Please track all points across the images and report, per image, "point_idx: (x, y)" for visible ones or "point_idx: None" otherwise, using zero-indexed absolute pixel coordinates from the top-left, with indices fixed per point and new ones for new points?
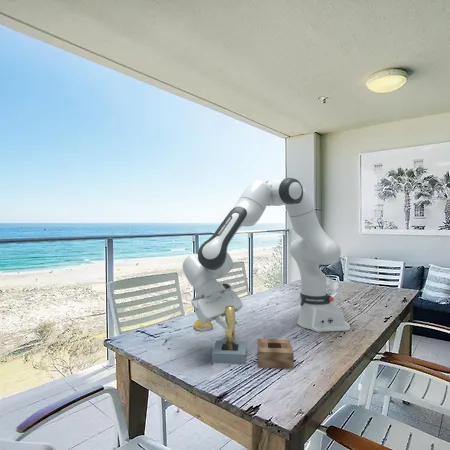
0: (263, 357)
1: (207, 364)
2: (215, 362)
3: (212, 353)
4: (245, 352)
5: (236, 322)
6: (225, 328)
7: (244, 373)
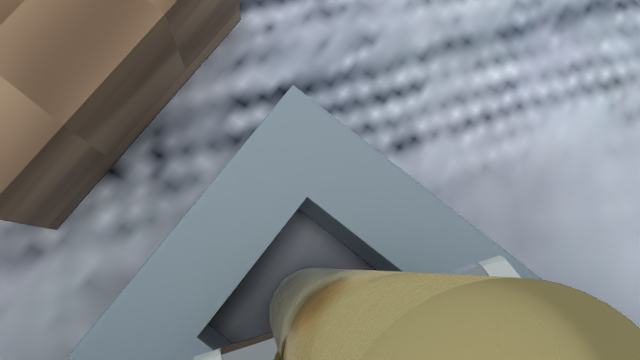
0: None
1: None
2: None
3: None
4: (263, 123)
5: (233, 346)
6: None
7: (353, 41)
